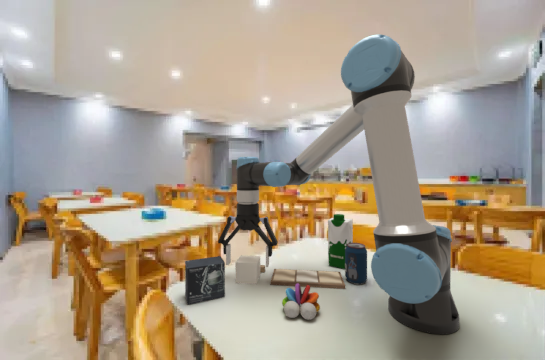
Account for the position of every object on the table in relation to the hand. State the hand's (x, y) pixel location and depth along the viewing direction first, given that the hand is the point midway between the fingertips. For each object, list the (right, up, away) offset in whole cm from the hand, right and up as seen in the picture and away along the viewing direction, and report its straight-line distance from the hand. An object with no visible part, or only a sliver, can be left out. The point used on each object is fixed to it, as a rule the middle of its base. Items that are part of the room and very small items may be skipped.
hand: (247, 264), depth 83 cm
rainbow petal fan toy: (+16, -6, -20) cm, 26 cm away
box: (-11, -5, -12) cm, 17 cm away
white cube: (0, -5, 0) cm, 5 cm away
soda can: (+36, -5, -2) cm, 37 cm away
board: (+20, -5, -1) cm, 21 cm away
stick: (+1, -5, +7) cm, 8 cm away
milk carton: (+35, -5, +13) cm, 38 cm away
